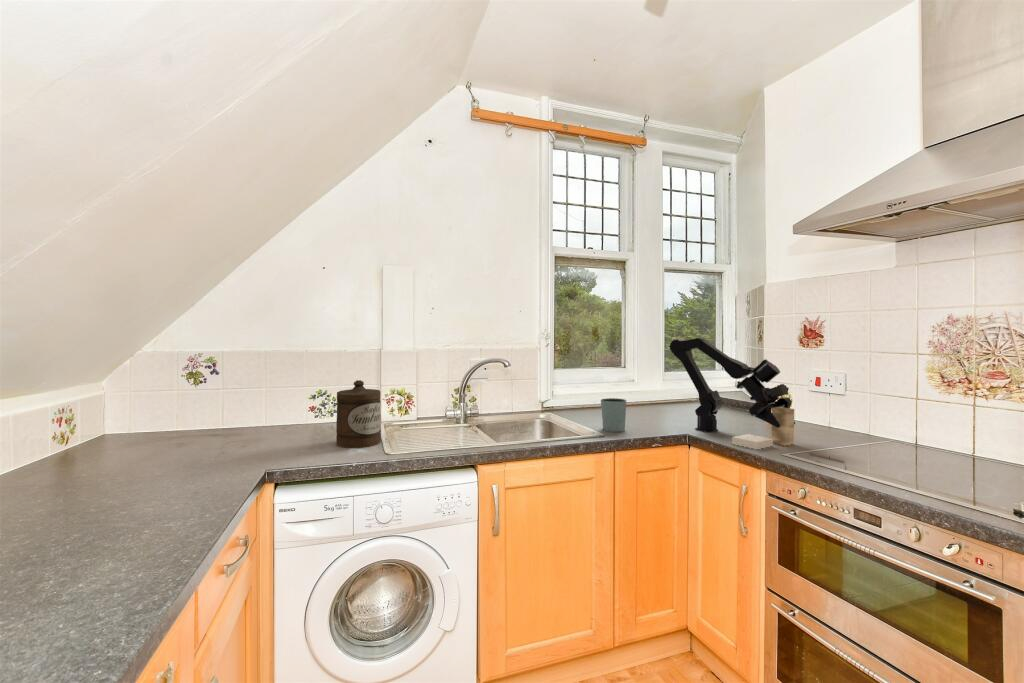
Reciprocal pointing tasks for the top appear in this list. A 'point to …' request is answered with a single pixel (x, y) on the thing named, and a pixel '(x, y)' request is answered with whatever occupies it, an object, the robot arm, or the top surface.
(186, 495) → the top surface
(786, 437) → the oak block
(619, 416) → the grey green cup
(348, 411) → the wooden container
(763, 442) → the cream base block
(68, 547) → the top surface
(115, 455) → the top surface
